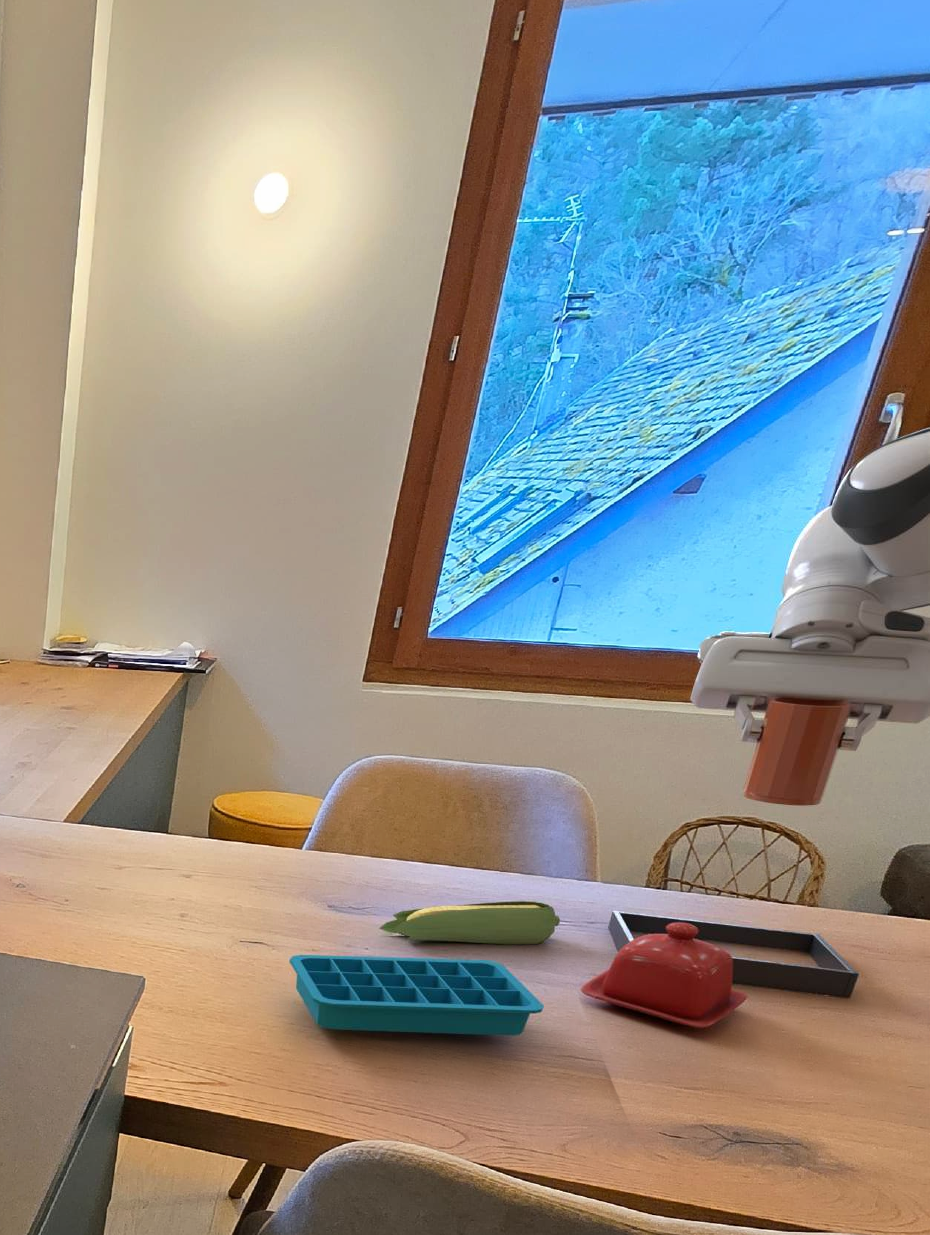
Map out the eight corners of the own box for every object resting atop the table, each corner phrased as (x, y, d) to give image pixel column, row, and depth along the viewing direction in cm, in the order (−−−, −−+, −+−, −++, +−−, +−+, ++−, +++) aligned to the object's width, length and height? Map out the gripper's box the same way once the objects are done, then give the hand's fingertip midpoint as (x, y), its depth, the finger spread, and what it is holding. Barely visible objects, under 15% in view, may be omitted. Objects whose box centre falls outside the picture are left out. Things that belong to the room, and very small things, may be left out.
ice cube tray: (541, 1040, 108) (549, 1010, 106) (311, 1032, 110) (316, 1003, 109) (491, 987, 118) (498, 960, 117) (282, 981, 120) (287, 954, 119)
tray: (809, 960, 129) (819, 934, 127) (849, 1001, 118) (859, 973, 116) (605, 935, 136) (612, 910, 135) (624, 972, 125) (632, 945, 124)
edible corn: (563, 950, 131) (573, 912, 129) (380, 951, 132) (388, 913, 130) (539, 933, 136) (548, 896, 134) (362, 934, 136) (369, 897, 134)
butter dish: (570, 1000, 117) (593, 921, 114) (620, 971, 123) (643, 894, 120) (702, 1041, 109) (731, 957, 105) (749, 1008, 115) (778, 926, 111)
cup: (810, 794, 126) (840, 699, 122) (829, 807, 120) (861, 708, 116) (735, 790, 128) (762, 696, 125) (750, 802, 123) (780, 704, 119)
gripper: (709, 611, 128) (683, 714, 124) (959, 621, 117) (938, 733, 114) (697, 650, 133) (672, 750, 130) (935, 663, 123) (915, 772, 119)
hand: (798, 742), depth 122 cm, fingers closed on cup, 7 cm apart
